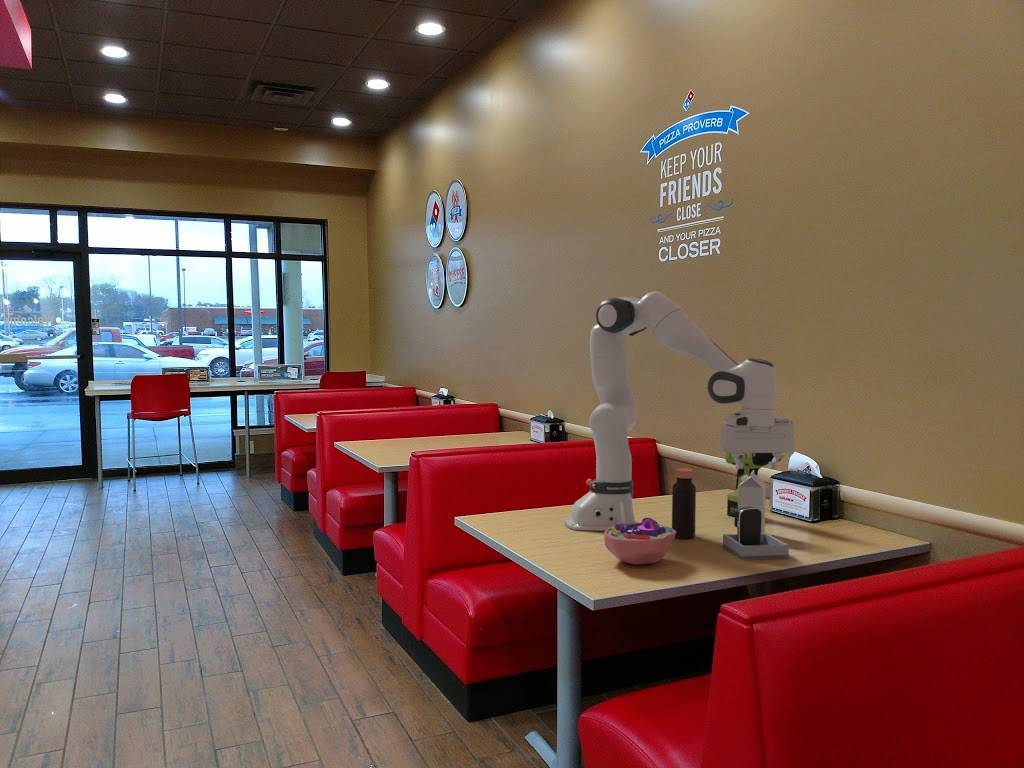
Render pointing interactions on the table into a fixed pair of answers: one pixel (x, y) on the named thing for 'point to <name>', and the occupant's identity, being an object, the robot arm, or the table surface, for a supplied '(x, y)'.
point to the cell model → (639, 541)
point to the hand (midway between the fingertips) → (755, 468)
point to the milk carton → (753, 495)
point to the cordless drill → (745, 473)
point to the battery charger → (748, 526)
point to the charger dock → (757, 548)
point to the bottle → (684, 504)
